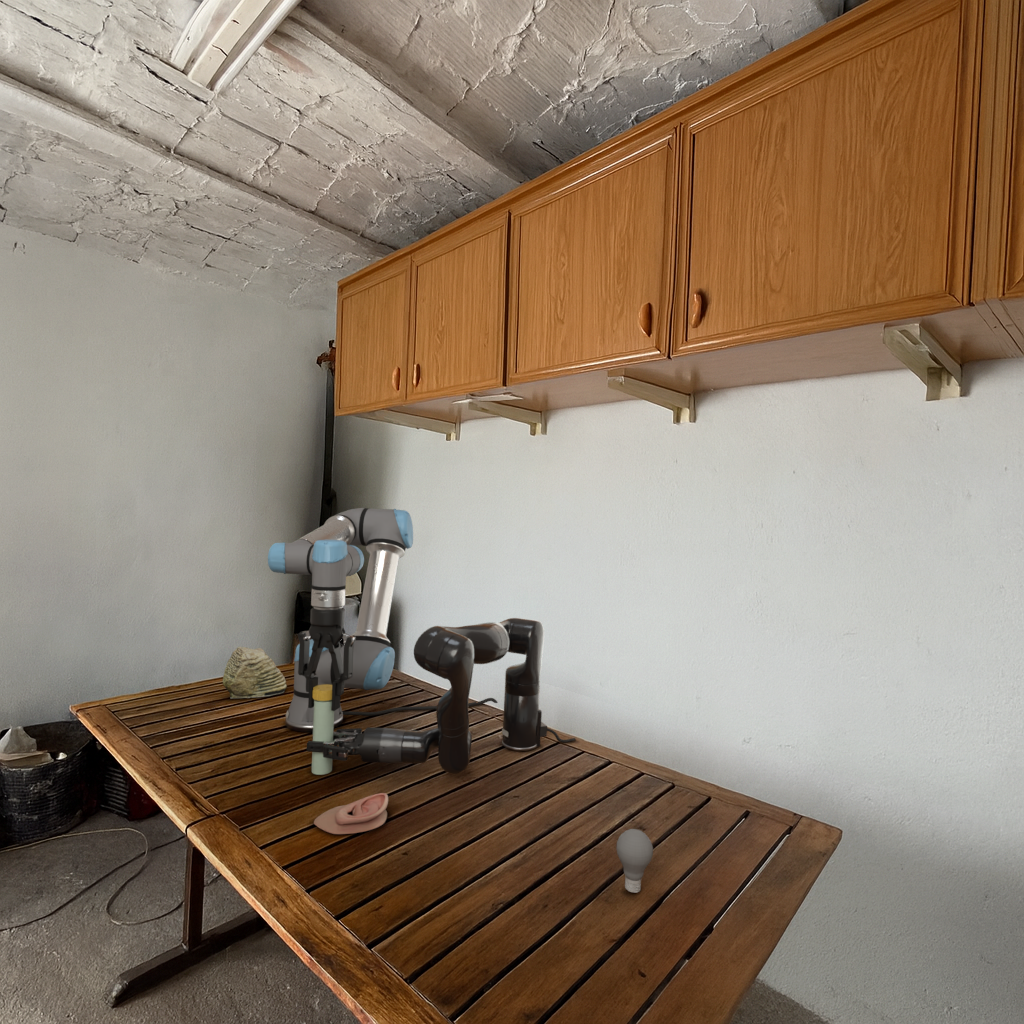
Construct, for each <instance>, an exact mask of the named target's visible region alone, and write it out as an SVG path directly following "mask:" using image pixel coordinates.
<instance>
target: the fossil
mask: <svg viewBox="0 0 1024 1024" xmlns="http://www.w3.org/2000/svg"><path fill="white" fill-rule="evenodd" d="M222 676H223V677H222V685H223V687H224V688H225V690H226V691H228V693H229V698H230V699H250V698H264V697H271V696H275V695H281V694H284V693H285V691H286V689H287V687H288V686H287V680H286V678H285V676H284V674H283V673H282V672H281V669H279V668H278V667H277V665H276V663H275V662H274V660H273V659H272V658H271V657H270V656H269V655H268V654H267V653H266V652H265V650H264V649H263V648H260V647H258V648H251V647H247V646H246V647H245V646H238V647H237V648H236V649H235V650H233V651H232V653H231V656H230V657H229V659H228V660H227V663H226V666H225V668H224V671H223V675H222Z"/></svg>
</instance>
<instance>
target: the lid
mask: <svg viewBox="0 0 1024 1024" xmlns="http://www.w3.org/2000/svg"><path fill="white" fill-rule="evenodd" d="M313 699H314V700H317V701H329V700H332V685H329V684H324V685H318V686H315V687H314V688H313Z"/></svg>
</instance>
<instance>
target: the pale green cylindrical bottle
mask: <svg viewBox="0 0 1024 1024" xmlns="http://www.w3.org/2000/svg"><path fill="white" fill-rule="evenodd" d="M331 708H332V700H329V701H317V700H314V718H313V732H312V741H323V742H328V741H333V732H334V729H335V728H334V711H331ZM331 746H334V745H331ZM332 771H333V759H330V758H324V757H323V752H311V773H312V774H313V775H317V776H323V775H327V774H330V773H331V772H332Z"/></svg>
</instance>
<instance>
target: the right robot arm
mask: <svg viewBox="0 0 1024 1024" xmlns="http://www.w3.org/2000/svg"><path fill="white" fill-rule="evenodd" d="M544 644H545V627H544V624H543V622H542V621H540V620H536V619H528V618H521V617H509V618H507V619H504V620H501V621H500V622H482V623H477V624H469V625H463V626H443V625H434V626H431V627H429V628H427V629H426V630H425V631H423V632H422V633H421V634H420V635H419V637H418V638H417V640H416V641H415V643H414V647H413V657H414V660H415V661H414V662H416V664H417V665H418V666H419V668H422V669H423V670H424V671H427V672H429V673H431V674H433V675H434V676H437V677H439V678H442V679H444V680H448V681H449V683H450V688H449V689H448V690H447V691H446V692H444V694H443V695H441V697H440V698H439V700H438V702H437V705H436V706H437V709H435V712H436V713H435V714H436V723H437V727H435V728H431V729H426V730H405V729H399V728H388V727H369V726H368V727H366V728H365V729H364V731H363V728H361V727H356V728H355V727H354V728H337V729H336V730H335V731H333V741H328V742H323V741H313V740H308V741H307V742H306V751H307V752H309V753H312V752H323V757H324V758H330V759H332V760H336V761H342V762H346V761H348V760H349V759H348V758H349V757H350V756H360V759H361V761H362V762H363V763H375V764H376V763H378V764H425V763H426V762H428V760H429V759H430V756H431V754H432V752H433V751H435V750H437V755H438V756H437V758H438V759H437V761H438V763H439V766H440V767H441V769H442V770H443V771H444V772H446V773H448V774H449V775H450V774H451V775H458V774H461V773H463V772H464V771H465V770H466V769H467V768H468V766H469V765H470V760H471V751H472V741H473V736H472V735H473V734H472V732H471V731H470V715H469V714H470V713H469V707H468V703H469V699H470V693H471V687H472V680H473V672H474V665H486V664H492V663H495V662H497V661H500V660H501V659H503V658H504V657H505V656H506V655H507V653H510V654H516V655H522V656H525V661H524V662H521V663H517V664H513V665H510V666H507V668H505V675H504V697H503V719H502V720H503V721H502V723H503V724H502V728H501V734H502V735H501V736H502V739H501V745H502V747H504V748H506V749H507V750H510V751H515V752H528V751H532V750H535V749H536V748H539V747H541V739H542V738H543V737H547V736H548V732H549V733H551V734H552V735H554V737H555V738H556V740H557V741H558V742H560V743H563V744H564V743H566V744H567V743H572V742H575V741H577V740H576V738H575V737H573V738H568V739H562V738H560V736H559V735H558V733H557V732H556V731H554V730H553V729H551V728H548V725H546V724H545V723H544V722H543V721H542V718H543V717H542V714H543V712H542V710H541V708H540V692H541V691H540V690H541V674H542V667H543V654H544ZM331 745H333V746H331Z"/></svg>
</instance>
